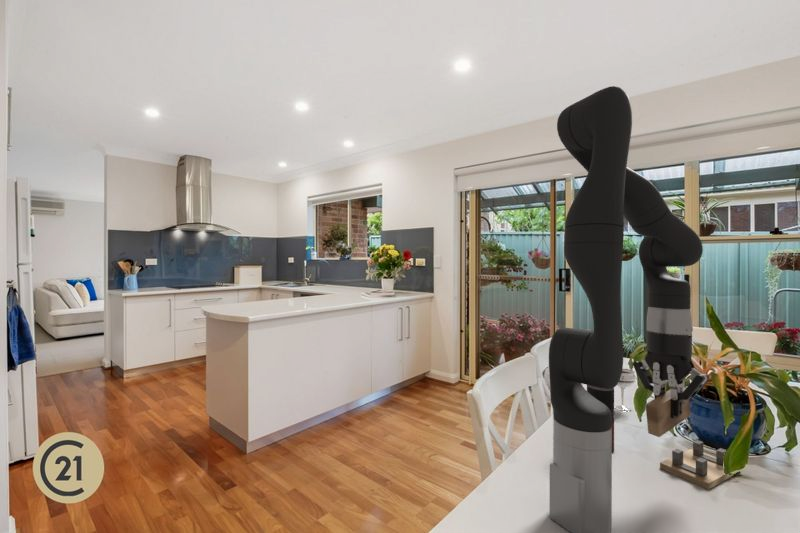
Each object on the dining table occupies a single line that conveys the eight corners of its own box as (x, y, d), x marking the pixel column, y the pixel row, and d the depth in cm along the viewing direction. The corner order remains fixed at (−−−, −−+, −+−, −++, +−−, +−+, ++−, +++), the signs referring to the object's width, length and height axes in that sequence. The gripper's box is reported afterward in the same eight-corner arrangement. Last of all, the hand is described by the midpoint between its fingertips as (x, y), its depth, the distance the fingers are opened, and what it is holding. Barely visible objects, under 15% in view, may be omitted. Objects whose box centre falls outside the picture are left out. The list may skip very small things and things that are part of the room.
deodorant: (586, 450, 90) (586, 388, 90) (587, 440, 95) (587, 381, 95) (614, 456, 87) (614, 392, 87) (613, 445, 93) (613, 385, 93)
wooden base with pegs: (709, 489, 74) (709, 468, 74) (660, 467, 82) (660, 448, 82) (740, 471, 81) (740, 452, 81) (692, 453, 89) (692, 435, 89)
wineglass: (640, 410, 116) (640, 372, 116) (625, 413, 113) (625, 374, 113) (619, 403, 122) (619, 366, 122) (605, 406, 119) (605, 368, 119)
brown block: (662, 438, 72) (659, 408, 71) (648, 433, 74) (645, 404, 73) (693, 416, 77) (690, 388, 77) (679, 412, 79) (677, 385, 79)
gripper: (623, 326, 80) (623, 407, 80) (699, 336, 68) (698, 432, 67) (643, 324, 83) (643, 402, 83) (718, 334, 71) (718, 425, 71)
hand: (668, 415), depth 75 cm, fingers closed on brown block, 1 cm apart
